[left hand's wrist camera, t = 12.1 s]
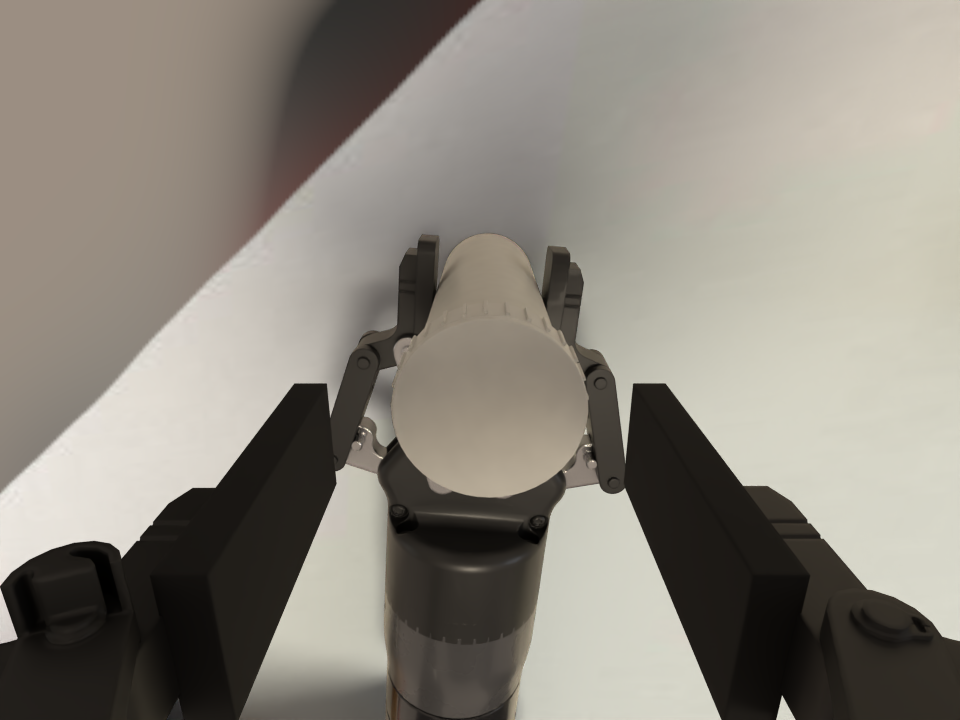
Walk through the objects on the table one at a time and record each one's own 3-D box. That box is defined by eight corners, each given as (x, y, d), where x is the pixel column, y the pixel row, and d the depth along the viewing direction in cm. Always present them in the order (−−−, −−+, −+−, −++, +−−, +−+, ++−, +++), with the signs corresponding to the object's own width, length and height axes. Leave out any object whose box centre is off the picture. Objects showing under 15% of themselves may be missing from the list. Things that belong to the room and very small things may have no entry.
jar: (504, 215, 29) (522, 293, 15) (547, 293, 31) (603, 434, 16) (426, 261, 30) (371, 377, 16) (471, 335, 31) (460, 505, 17)
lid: (525, 263, 16) (530, 276, 14) (613, 420, 17) (626, 446, 16) (360, 357, 17) (348, 379, 15) (457, 497, 18) (455, 529, 17)
